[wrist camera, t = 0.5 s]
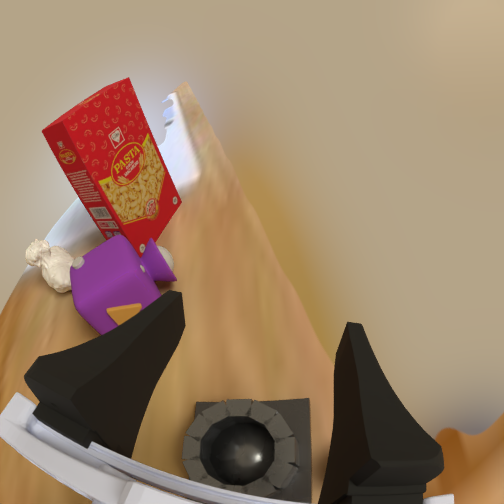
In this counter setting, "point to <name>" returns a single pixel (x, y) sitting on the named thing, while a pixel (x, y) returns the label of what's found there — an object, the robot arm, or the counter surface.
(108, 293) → the toy camera
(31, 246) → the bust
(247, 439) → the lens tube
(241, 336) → the counter surface
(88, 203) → the food packaging
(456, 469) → the counter surface
